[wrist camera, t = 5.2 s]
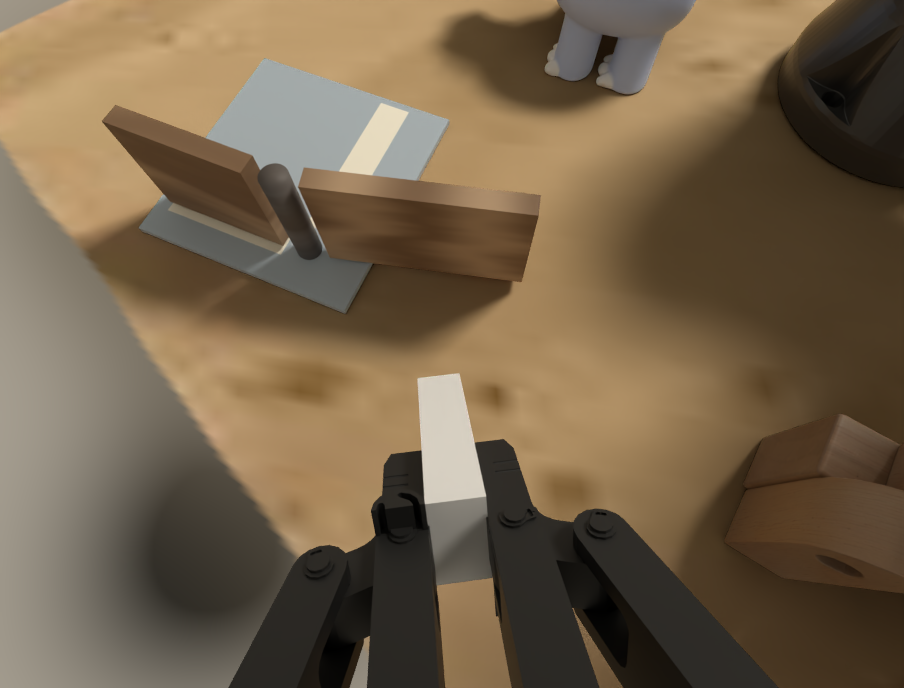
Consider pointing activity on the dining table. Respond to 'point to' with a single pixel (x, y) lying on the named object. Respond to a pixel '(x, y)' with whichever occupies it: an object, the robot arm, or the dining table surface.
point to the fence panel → (421, 223)
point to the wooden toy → (826, 506)
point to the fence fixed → (217, 180)
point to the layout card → (297, 146)
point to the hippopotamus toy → (619, 15)
